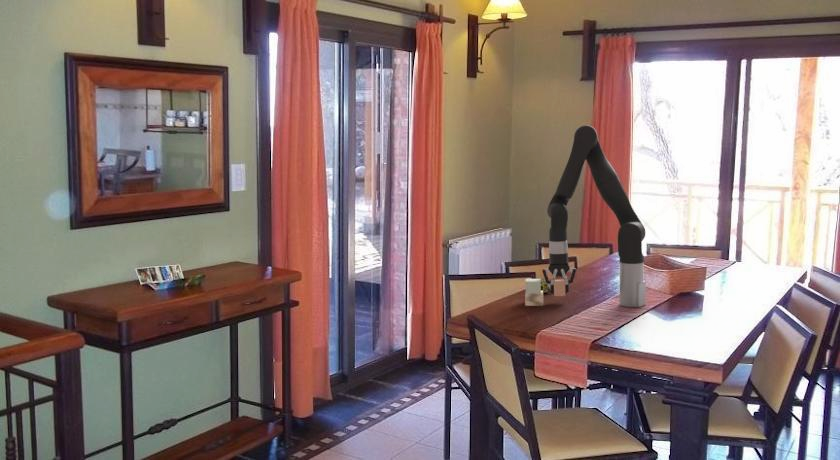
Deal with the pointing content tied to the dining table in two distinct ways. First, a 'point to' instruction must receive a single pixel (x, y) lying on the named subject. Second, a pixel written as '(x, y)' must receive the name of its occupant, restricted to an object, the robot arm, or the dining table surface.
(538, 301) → the tower base
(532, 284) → the tower top
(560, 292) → the clay block
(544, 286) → the toy
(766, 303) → the dining table surface
